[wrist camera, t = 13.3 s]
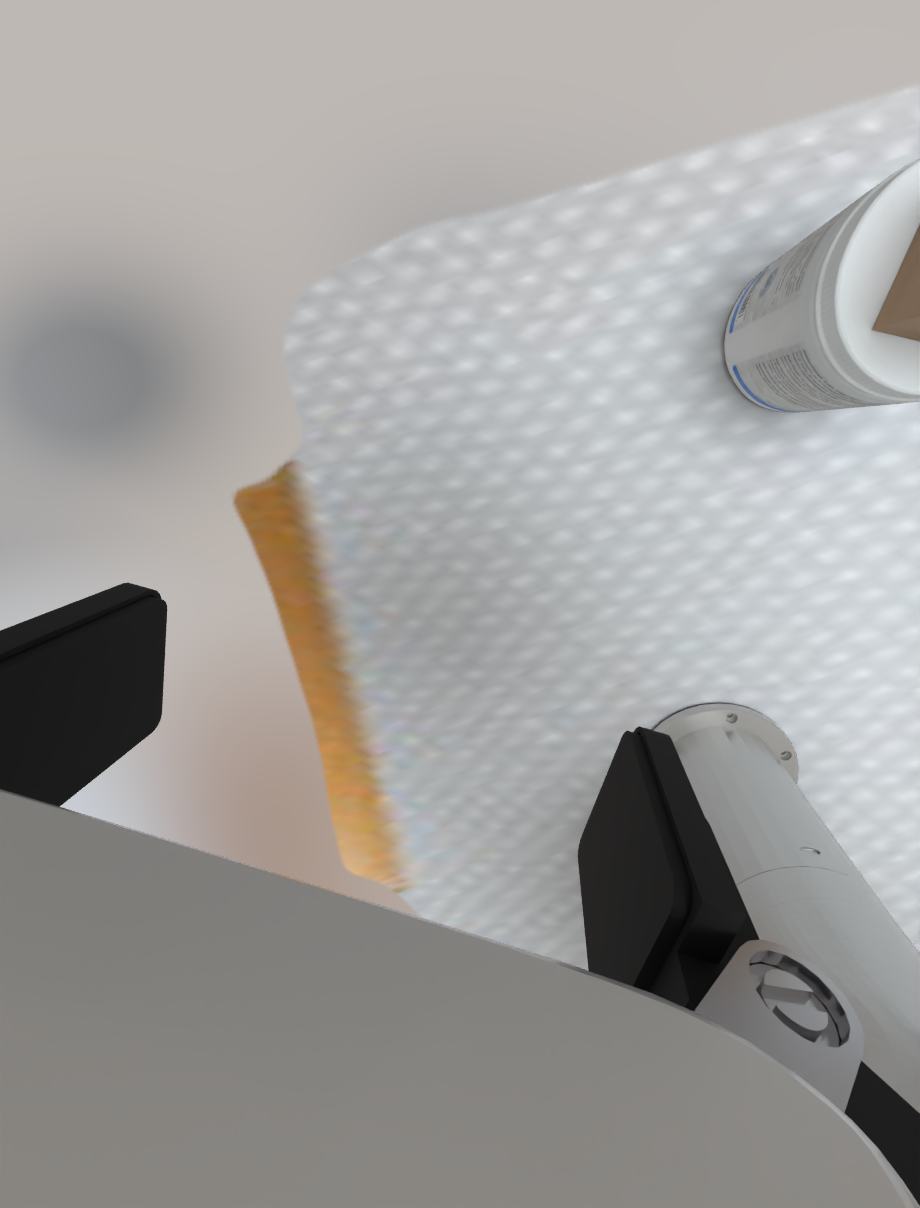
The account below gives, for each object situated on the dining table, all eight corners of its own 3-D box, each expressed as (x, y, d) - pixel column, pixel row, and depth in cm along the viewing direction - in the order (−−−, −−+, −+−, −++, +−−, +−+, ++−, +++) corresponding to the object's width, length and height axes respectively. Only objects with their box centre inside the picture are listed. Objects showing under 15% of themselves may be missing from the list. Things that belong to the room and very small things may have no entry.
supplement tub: (885, 384, 35) (1112, 357, 21) (733, 432, 37) (849, 437, 23) (868, 221, 33) (1112, 72, 19) (706, 283, 35) (818, 190, 21)
